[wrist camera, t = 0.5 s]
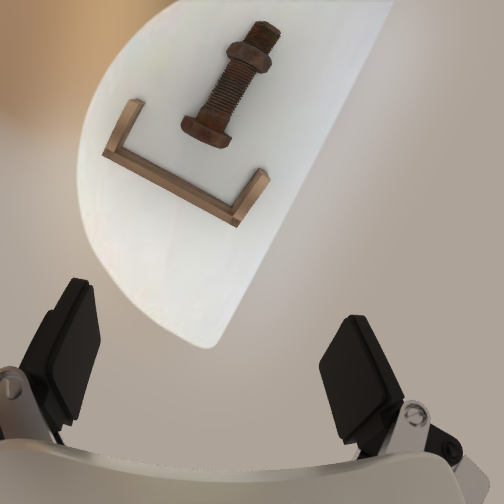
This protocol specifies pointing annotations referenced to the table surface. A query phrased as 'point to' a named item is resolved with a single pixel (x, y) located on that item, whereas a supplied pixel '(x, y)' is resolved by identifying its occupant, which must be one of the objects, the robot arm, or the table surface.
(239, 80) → the bolt
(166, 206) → the table surface
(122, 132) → the bracket
